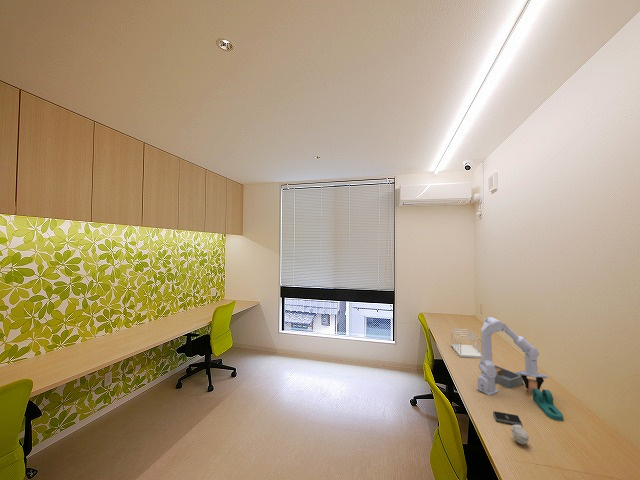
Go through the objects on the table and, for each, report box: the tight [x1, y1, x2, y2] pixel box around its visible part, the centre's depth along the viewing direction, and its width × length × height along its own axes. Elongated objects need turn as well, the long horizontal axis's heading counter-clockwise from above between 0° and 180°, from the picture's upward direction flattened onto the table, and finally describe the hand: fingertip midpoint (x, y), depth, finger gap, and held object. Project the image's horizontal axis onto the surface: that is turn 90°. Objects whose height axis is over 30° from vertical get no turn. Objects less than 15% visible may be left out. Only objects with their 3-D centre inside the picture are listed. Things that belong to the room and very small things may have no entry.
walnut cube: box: [495, 367, 503, 377], centre depth 177 cm, size 5×5×5 cm
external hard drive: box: [492, 410, 523, 427], centre depth 134 cm, size 7×11×2 cm, turn 68°
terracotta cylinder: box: [526, 377, 538, 395], centre depth 158 cm, size 5×5×7 cm
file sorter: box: [450, 328, 482, 359], centre depth 221 cm, size 25×17×16 cm
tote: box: [494, 364, 524, 389], centre depth 173 cm, size 14×18×5 cm
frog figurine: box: [510, 425, 529, 445], centre depth 118 cm, size 6×7×7 cm
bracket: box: [531, 389, 564, 422], centre depth 141 cm, size 18×7×8 cm, turn 163°
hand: (532, 389), depth 158 cm, fingers closed on terracotta cylinder, 5 cm apart
